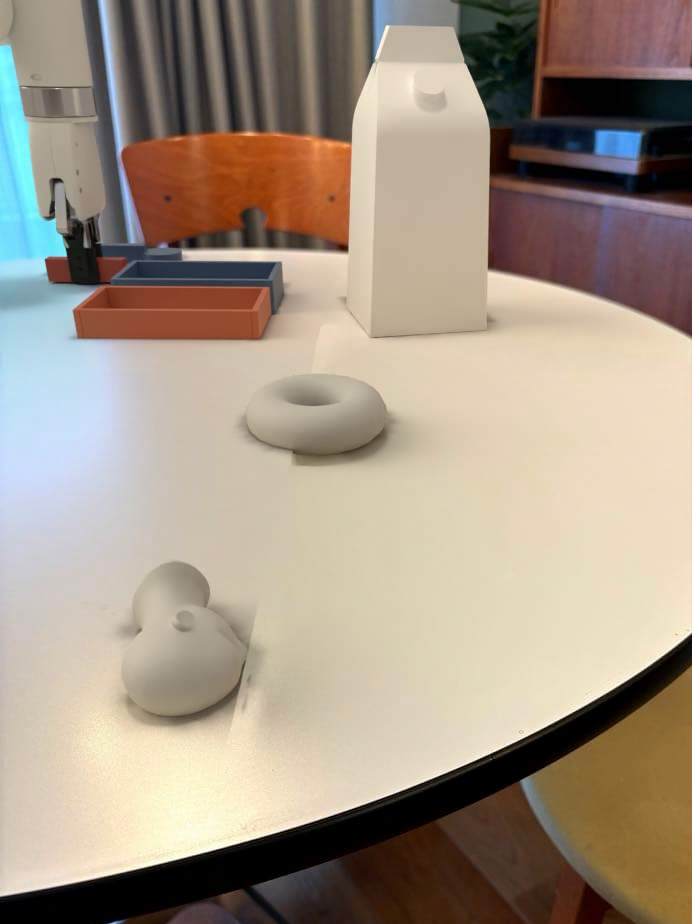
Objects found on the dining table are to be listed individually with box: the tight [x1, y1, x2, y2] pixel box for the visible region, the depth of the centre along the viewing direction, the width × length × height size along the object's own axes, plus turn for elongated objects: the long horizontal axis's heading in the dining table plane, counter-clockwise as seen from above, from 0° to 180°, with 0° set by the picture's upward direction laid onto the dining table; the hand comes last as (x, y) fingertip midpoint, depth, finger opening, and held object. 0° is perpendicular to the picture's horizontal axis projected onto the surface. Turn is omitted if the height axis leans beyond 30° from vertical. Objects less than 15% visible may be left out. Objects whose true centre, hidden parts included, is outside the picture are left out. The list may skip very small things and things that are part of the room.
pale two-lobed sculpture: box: [120, 559, 248, 717], centre depth 36 cm, size 4×8×5 cm
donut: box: [245, 373, 388, 456], centre depth 59 cm, size 10×4×10 cm
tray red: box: [72, 285, 272, 340], centre depth 80 cm, size 17×9×4 cm, turn 91°
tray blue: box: [109, 260, 285, 315], centre depth 90 cm, size 17×9×4 cm, turn 91°
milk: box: [346, 24, 491, 338], centre depth 80 cm, size 12×12×26 cm
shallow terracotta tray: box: [44, 255, 128, 283], centre depth 98 cm, size 14×5×3 cm, turn 92°
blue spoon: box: [100, 242, 184, 264], centre depth 106 cm, size 14×5×3 cm, turn 91°
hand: (89, 279), depth 98 cm, fingers closed on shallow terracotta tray, 1 cm apart
